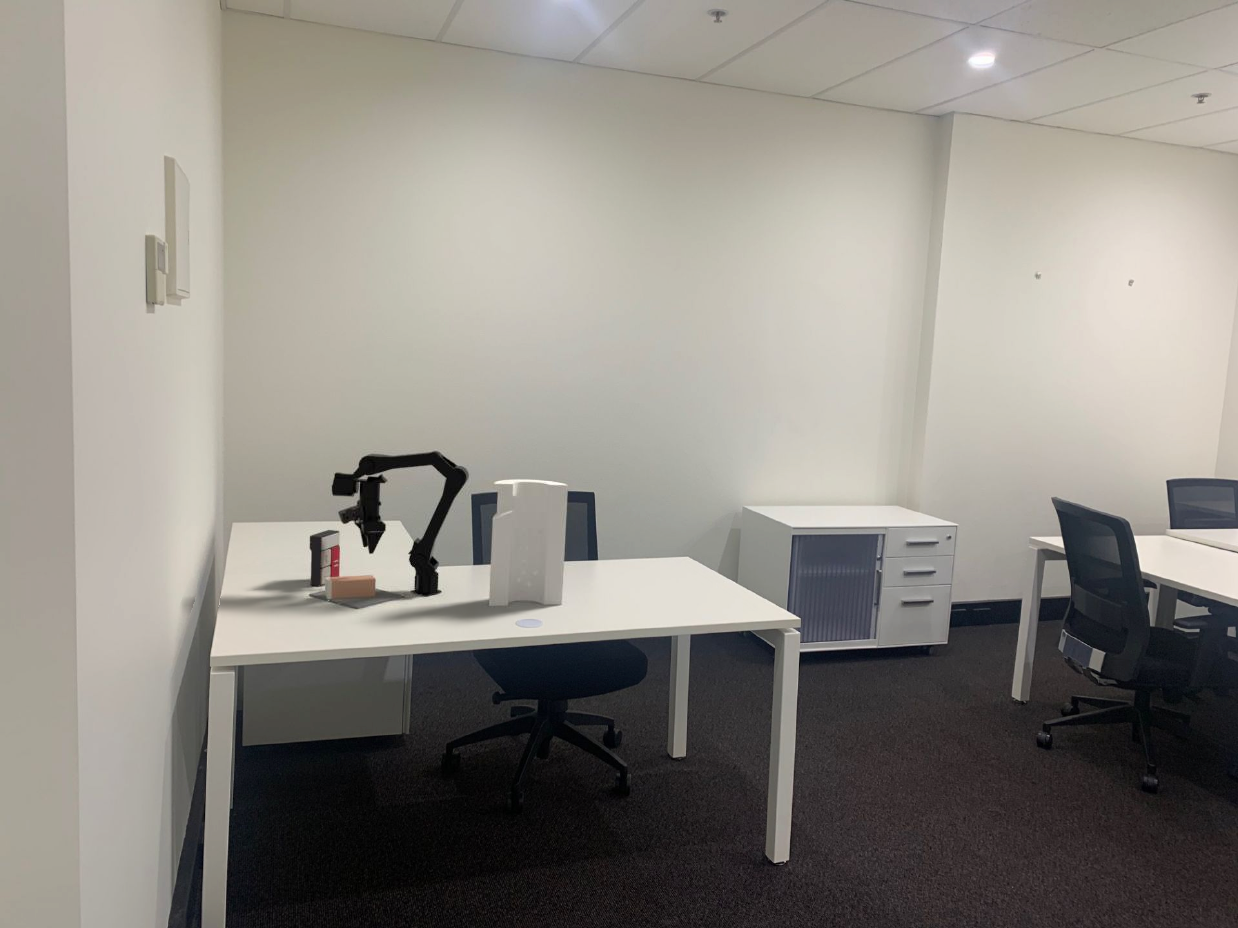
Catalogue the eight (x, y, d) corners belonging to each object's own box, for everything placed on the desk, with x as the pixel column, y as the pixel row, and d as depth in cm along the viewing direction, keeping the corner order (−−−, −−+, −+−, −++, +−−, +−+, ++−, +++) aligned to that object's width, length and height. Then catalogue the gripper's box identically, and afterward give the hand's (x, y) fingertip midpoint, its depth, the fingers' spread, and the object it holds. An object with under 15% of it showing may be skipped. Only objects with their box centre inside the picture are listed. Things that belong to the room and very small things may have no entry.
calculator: (321, 587, 260) (322, 537, 258) (308, 585, 261) (309, 535, 259) (340, 578, 270) (341, 530, 269) (327, 577, 271) (329, 529, 270)
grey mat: (403, 597, 254) (404, 595, 254) (357, 608, 239) (358, 607, 239) (356, 584, 264) (356, 583, 264) (309, 595, 250) (309, 593, 250)
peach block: (372, 574, 255) (325, 577, 249) (375, 578, 251) (328, 581, 245) (371, 591, 256) (324, 594, 250) (375, 596, 251) (327, 599, 245)
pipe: (562, 605, 255) (489, 606, 249) (554, 595, 266) (484, 596, 260) (568, 485, 251) (494, 484, 245) (560, 480, 262) (489, 478, 256)
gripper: (335, 492, 261) (334, 544, 262) (346, 503, 244) (344, 558, 246) (374, 492, 266) (372, 543, 267) (386, 502, 249) (385, 556, 251)
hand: (368, 550), depth 258 cm, fingers open, 9 cm apart
